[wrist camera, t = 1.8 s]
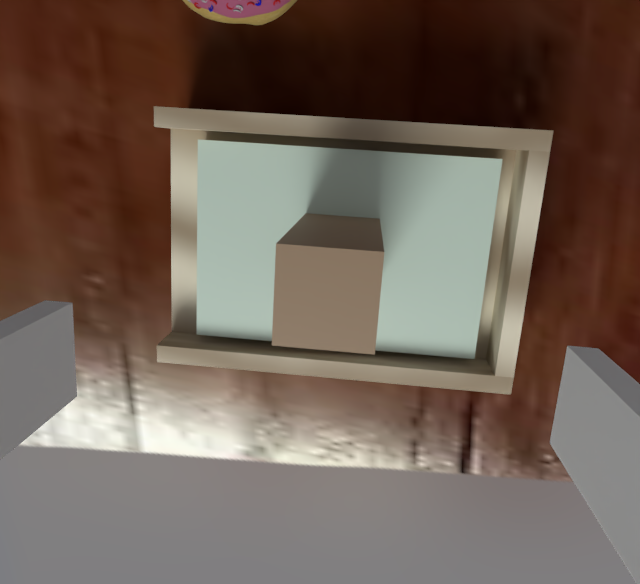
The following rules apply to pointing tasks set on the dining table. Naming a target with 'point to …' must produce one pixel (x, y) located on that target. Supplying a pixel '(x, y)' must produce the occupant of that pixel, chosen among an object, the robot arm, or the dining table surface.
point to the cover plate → (348, 184)
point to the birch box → (376, 135)
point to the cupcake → (240, 10)
